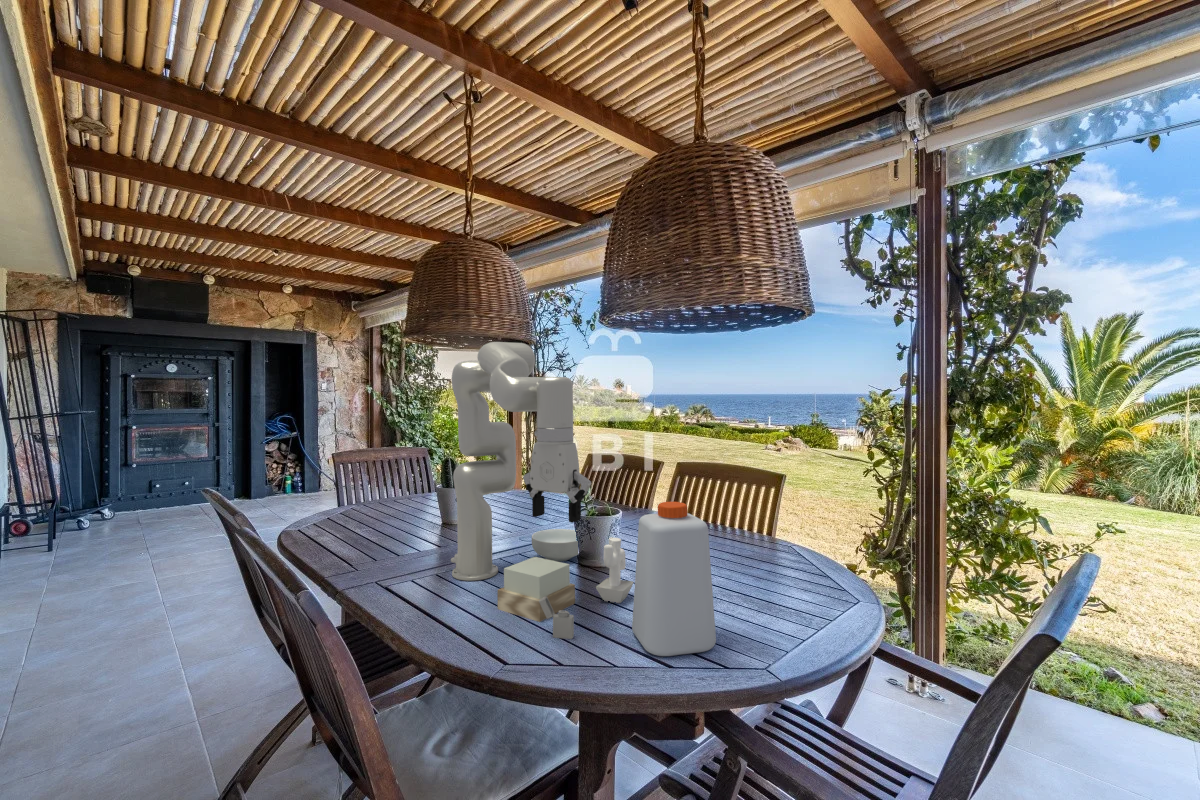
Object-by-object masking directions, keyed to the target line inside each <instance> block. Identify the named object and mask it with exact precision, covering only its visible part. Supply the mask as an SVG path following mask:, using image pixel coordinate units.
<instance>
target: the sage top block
mask: <svg viewBox="0 0 1200 800" xmlns="http://www.w3.org/2000/svg"><path fill="white" fill-rule="evenodd" d="M570 571H571V570H570V563H565V562H563V561H552V560H548V559H546V558H544V557H543V558H542V557H539V556H538V557H537V556H534V557H531V558H527V559H525V560H523V561H520V562H517V563H515V564H512V565H510V566H507V567H504V568H503V587H504V590H508V591H511V592H515V593H519V594H522V595H526V596H529V597H533V598H537V599H541V598H543V597H545V596H548V595H550V594H552V593H554V592H556V591H558V590H560V589H562V588H564V587H566V586H568V585H570V581H571V580H570V575H571V573H570Z"/></svg>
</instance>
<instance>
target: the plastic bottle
mask: <svg viewBox="0 0 1200 800" xmlns="http://www.w3.org/2000/svg"><path fill="white" fill-rule="evenodd" d="M709 535H710V534H709V527H708V525H707V523H706V522H705V521H704V520H702V519H701V518H699V517H697V516H695V515H693V514H691V513H688V506H687V504H686V503H684V502H680V501H663V502H660V503H659V504H658V505H657V513H649V514H643V515H642V516H641V517H640V518H639V520H638V529H637V545H636V546H637V548H636V560H635V561H636V563H635V575H634V576H635V577H634V578H635V579H634V590H633V592H634V594H633V607H632V621H631V628H632V632H633V634H634V636H635V637H636V638H637V640H638V641H639V643H640V644H641V645H642V647H643V648H644V650H645V651H646V652H647V653H650V654H651V655H653V656H657V657H672V656H680V655H687V654H688V655H689V654H690V655H691V654H696V653H705V652H707V651H710V650H712V649H713V648H714V647H715V645H716V642H717V637H716V635H717V634H716V622H715V621H716V619H715V610H714V608H715V606H714V593H713V581H712V579H713V578H712V565H711V553H710V552H711V551H710V538H709V537H710V536H709Z"/></svg>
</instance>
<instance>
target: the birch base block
mask: <svg viewBox="0 0 1200 800" xmlns="http://www.w3.org/2000/svg"><path fill="white" fill-rule="evenodd" d="M547 598H548V600H549V602H550V604H551V606H552V609H553V611H554V613H555V614H558V612H559V610H563V611H565V610H566V609H567V608H569V607H571V606H573V605H574V604H576V584H574V583H570V585H568V586H566V587H564V588H562V589H560V590H558V591H556V592H554V593H552V594H550V595H548V596H547ZM539 600H540V599H537V598H533V597H529V596H526V595H522V594H519V593H515V592H511V591H508V590H504V586H503V587H501V588H498V589H497V610H499V611H502V612H505V613H510V614H512V615H514V616H515V615H516V616H518V617H522V618H524V619H525V618H526V619H528V620H532V621H535V622H539V623H541V622H543V621H545V620H547V618H546V616H545V614H544V611H543V609H542V607H541V605H540V603H539Z"/></svg>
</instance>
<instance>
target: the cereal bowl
mask: <svg viewBox="0 0 1200 800" xmlns="http://www.w3.org/2000/svg"><path fill="white" fill-rule="evenodd" d="M531 545H532V549H533V550H534V552H535V553H536V554H537V555H539V556H540V557H541V558H542V557H543V558H544V559H548V560H552V561H557V562H565V561H566V562H567V561H568V560H570V559H572V558H574V557H576V556H578V555H579V554H578V541H576V532H575V529H568V528H553V529H552V528H551V529H550V528H549V529H544V530H543V529H542V530H538V531H536V532H534V533H532V535H531Z"/></svg>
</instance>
